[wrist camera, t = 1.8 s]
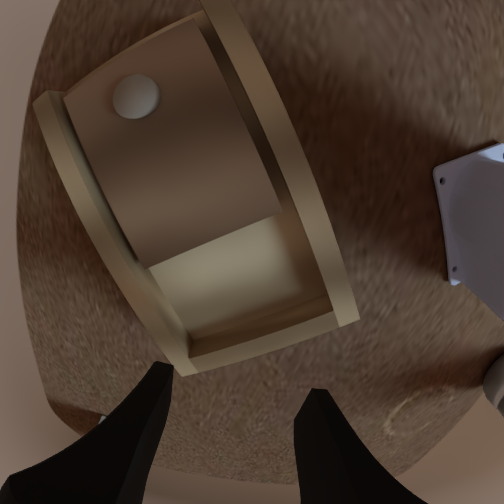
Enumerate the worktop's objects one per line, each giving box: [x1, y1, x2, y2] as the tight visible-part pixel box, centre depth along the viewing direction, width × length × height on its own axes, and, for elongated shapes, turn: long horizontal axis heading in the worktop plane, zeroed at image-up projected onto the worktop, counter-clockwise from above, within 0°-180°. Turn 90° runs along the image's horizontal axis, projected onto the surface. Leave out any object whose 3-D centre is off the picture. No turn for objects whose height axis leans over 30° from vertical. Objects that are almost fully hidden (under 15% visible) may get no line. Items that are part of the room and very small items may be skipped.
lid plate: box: [63, 18, 283, 269], centre depth 13 cm, size 10×7×2 cm
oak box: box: [32, 0, 360, 377], centre depth 15 cm, size 18×11×5 cm, turn 23°
